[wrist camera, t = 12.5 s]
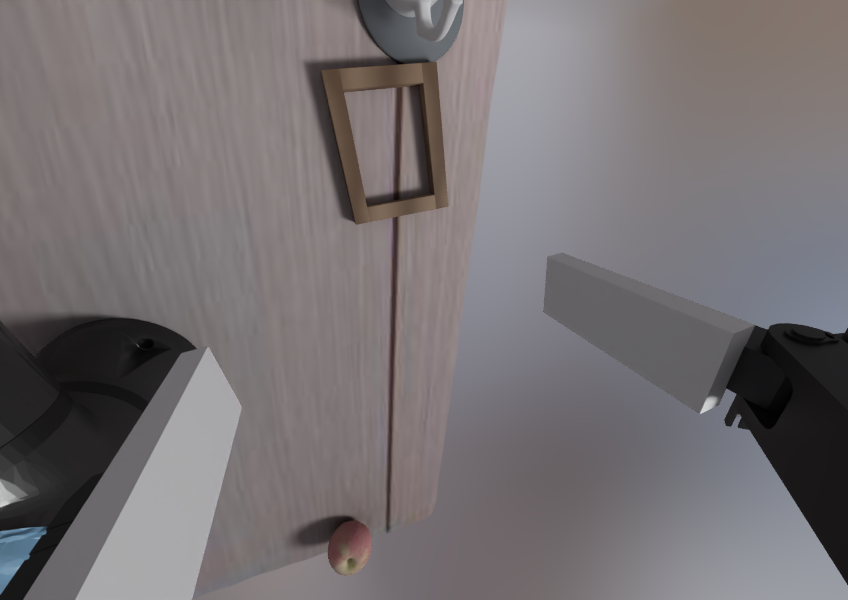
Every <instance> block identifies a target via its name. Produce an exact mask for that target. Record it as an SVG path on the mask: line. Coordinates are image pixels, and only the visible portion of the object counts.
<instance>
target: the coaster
mask: <svg viewBox="0 0 848 600" xmlns="http://www.w3.org/2000/svg"><path fill="white" fill-rule="evenodd" d="M358 4H359V8H360V12H361V15H362V18H363V21H364V23H365V26H366V28H367V30H368V32H369V34H370V35H371V37H372V38H373V40H374V41H375V43H376V44H377V45H378V46H379V48H380V49H381V50H382V51H383V52H384V53H385V54H386V55H387V56H389V57H390V58H392V59H393V60H395V61H397V62H399V63H401V64H415V63H429V62H435V61H436V60H438V59H439V58H440V57H442V56H443V55H444V54H445V53H446V52H447V51H448V50H449V48H450V47H451V46H452V44H453V42H454V40H455V39H456V37H457V34H458V32H459V29H460V25H461V22H462V16H463V7H464V0H463V2H462V4H461V5H460V6H459V8H458V10H457V13H456V15H455V18H454V20H453V22H452V25H451V27H450V29H449V31H448V32H447V34H446V35H445V37H444V38H443V39H442V40H440V41H438V42H431V41H428V40H426V39H424V38H422V37H419V36H418V34H417V30H416V18H415V17H405V16H402V15H400V14H399V13H397V12H396V11H394V10H393V9H392V8H391V7H390V6H389V4H388V3H387V2H386V0H358ZM442 8H443V0H437V1H436V2H435V3H434V4H433V5H432V6H431V7H430V12H431V21H432V24H433V26H436V25H437V23H438V22H439V19H440V16H441V13H442Z"/></svg>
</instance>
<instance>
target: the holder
mask: <svg viewBox="0 0 848 600" xmlns="http://www.w3.org/2000/svg"><path fill="white" fill-rule="evenodd" d="M321 77H322V82H323V86H324V90H325V95H326V99H327V104H328V108H329V112H330V117H331V121H332V126H333V130H334V134H335V139H336V143H337V148H338V152H339V156H340V161H341V165H342V170H343V174H344V178H345V183H346V187H347V192H348V196H349V201H350V205H351V209H352V214H353V218H354V222H355V224H361V223H367V222H372V221H377V220H382V219H387V218H392V217H397V216H402V215H407V214H412V213H417V212H422V211H428V210H433V209H438V208H443V207H448V197H447V185H446V172H445V160H444V148H443V136H442V123H441V111H440V99H439V87H438V74H437V62H429V63H415V64H400V65H386V66H371V67H357V68H343V69H328V70H321ZM408 86H419V90H420V100H421V109H422V118H423V128H424V137H425V147H426V156H427V166H428V175H429V184H430V194H426V195H421V196H415V197H410V198H405V199H399V200H394V201H388V202H383V203H377V204H372V205H367V204H366V199H365V194H364V189H363V184H362V180H361V175H360V170H359V165H358V160H357V155H356V150H355V145H354V140H353V135H352V130H351V125H350V120H349V115H348V111H347V106H346V101H345V96H344V92H351V91H363V90H374V89H385V88H396V87H408Z"/></svg>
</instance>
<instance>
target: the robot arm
mask: <svg viewBox="0 0 848 600" xmlns="http://www.w3.org/2000/svg"><path fill="white" fill-rule="evenodd" d="M546 270H547V271H546V283H545V297H544V311H543V312H544V313H546V314H547V315H549V316H550V317H552V318H553V319H555V320H557V321H558V322H559V323H561V324H563V325H564V326H565V327H567V328H569V329H570V330H572V331H573V332H575V333H577V334H578V335H579V336H581V337H583V338H584V339H585V340H587V341H588V342H590V343H592V344H593V345H595V346H596V347H598V348H599V349H601V350H602V351H604V352H605V353H607V354H608V355H610V356H612V357H613V358H615V359H616V360H618V361H619V362H621V363H622V364H624V365H625V366H627V367H628V368H630V369H631V370H633V371H634V372H636V373H638V374H639V375H641V376H642V377H644V378H645V379H647V380H648V381H650V382H652V383H653V384H654V385H656V386H658V387H659V388H661V389H662V390H664V391H665V392H667V393H668V394H670V395H671V396H673V397H675V398H676V399H677V400H679V401H680V402H682V403H683V404H685V405H687V406H688V407H690V408H691V409H693V410H694V411H696V412H697V413H699V414H701V413H703V412H705V411H707V410H709V409H711V408H713V407H716V406H718V405H719V403H720V401H721V399H722V397H723V394H724V392H725V390H726V388H727V389H729V390H731V391H732V392H734V393H736V394H737V395H736V397H735V399H734V401H733V403H732V405H731V407H730V409H729V411H728V413H727V415H726V417H725V424H726V426H731V425H732V423H733V421H734V419H735V418H736V417H739V416H741V417H742V418H741V420H740V422H739V424H738V428H742V429H748V430H750V431H751V433H752V434H753V436H754V438H755V439H756V441H757V442H758V444H759V445H760V447H761V448H762V450H763V452H764V453H765V455H766V457H767V458H768V460H769V461H770V463H771V464H772V466H773V468H774V469H775V471H776V472H777V474H778V475H779V477H780V479H781V480H782V482H783V483H784V485H785V486H786V488H787V490H788V491H789V493H790V494H791V496H792V498H793V499H794V501H795V502H796V504H797V506H798V507H799V508H800V510H801V512H802V513H803V515H804V517H805V518H806V520H807V521H808V523H809V525H810V526H811V528H812V529H813V531H814V532H815V534H816V536H817V537H818V539H819V540H820V542H821V543H822V545H823V546H824V548H825V550H826V551H827V553H828V555H829V556H830V558H831V559H832V561H833V562H834V564H835V566H836V567H837V569H838V570H839V572H840V573H841V575H842V577H843V578H844V580H845V581H846V583H847V585H848V328H847V330H846V332H845V333H839V334H832V333H830V332H826V331H823V330H820V329H817V328H813V327H809V326H804V325H798V324H788V323H785V324H775V325H772V326H770V327H769V329H768V330H767V329H764V328H761V327H758V326H756V325H754V324H751V323H748V322H746V321H743V320H741V319H738V318H735V317H733V316H730V315H727V314H725V313H722V312H719V311H716V310H714V309H711V308H709V307H706V306H703V305H700V304H698V303H695V302H692V301H690V300H687V299H684V298H682V297H679V296H676V295H674V294H671V293H668V292H665V291H663V290H660V289H658V288H655V287H652V286H650V285H647V284H644V283H641V282H639V281H636V280H633V279H631V278H628V277H625V276H623V275H620V274H617V273H615V272H612V271H609V270H606V269H604V268H601V267H598V266H596V265H593V264H590V263H588V262H585V261H582V260H580V259H577V258H574V257H572V256H569V255H566V254H564V253H560V254H556V255H552V256H548V257H547V269H546ZM241 409H242V406H241V405H240V403H239V401H238V399H237V397H236V396H235V394H234V392H233V390H232V388H231V387H230V385H229V383H228V381H227V379H226V378H225V376H224V374H223V372H222V370H221V369H220V367H219V365H218V363H217V361H216V360H215V358H214V356H213V354H212V352H211V351H210V349H209V347H208V346H207V347H203V348H199V349H196V348H195V346H194V345H192V344H191V343H190V342H189V341H188V340H187V339H185V338H184V337H182V336H181V335H179V334H177V333H175V332H174V331H172V330H169V329H167V328H165V327H162V326H159V325H156V324H152V323H148V322H144V321H138V320H129V319H109V320H100V321H94V322H90V323H86V324H83V325H80V326H77V327H74V328H72V329H70V330H68V331H66V332H65V333H63V334H61V335H60V336H59V337H57V338H56V339H54V340H53V341H52V342H50V343H49V344H48V345H46V346H45V347H44V348H43V349H41V350H40V351H39V352H38V353H37V355H36V356H35V357H33V356H32V355H31V354H30V353H29V351H28V350H27V349H26V348H25V347H24V346H23V345H22V344H21V343H20V342H19V341H18V340H17V339H16V338H15V337H14V335H13V334H12V333H11V332H10V331H9V330H8V329H7V328H6V327H5V326H4V324H3V323H2V322H1V321H0V600H192V597H193V593H194V589H195V586H196V582H197V578H198V574H199V570H200V566H201V563H202V559H203V555H204V551H205V547H206V543H207V539H208V536H209V532H210V528H211V524H212V520H213V516H214V513H215V509H216V505H217V501H218V497H219V493H220V490H221V486H222V482H223V478H224V474H225V470H226V466H227V463H228V459H229V455H230V451H231V447H232V443H233V440H234V436H235V432H236V428H237V424H238V420H239V416H240V413H241Z"/></svg>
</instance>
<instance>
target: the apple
mask: <svg viewBox="0 0 848 600" xmlns="http://www.w3.org/2000/svg"><path fill="white" fill-rule="evenodd" d="M371 544H372V543H371V535H370V532H369V530H368V528H367V527H366V526H365V525H364V524H362V523H360V522H359V521H347V522H344V523H342V524H341V525H340V526H339V527H338V528H337V529H336V530H335V532H334V533H333V535H332V537H331V539H330V542H329V545H328V559H329V562H330V565H331V566H332V568H333V569H334V570H335V571H336V572H337V573H338V574H340V575H352V574H355V573H356V572H358V571H359V570H360V569H361V568H362V567H363V566H364V565H365V563H366V562H367V560H368V558H369V556H370V553H371V546H372V545H371Z"/></svg>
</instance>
